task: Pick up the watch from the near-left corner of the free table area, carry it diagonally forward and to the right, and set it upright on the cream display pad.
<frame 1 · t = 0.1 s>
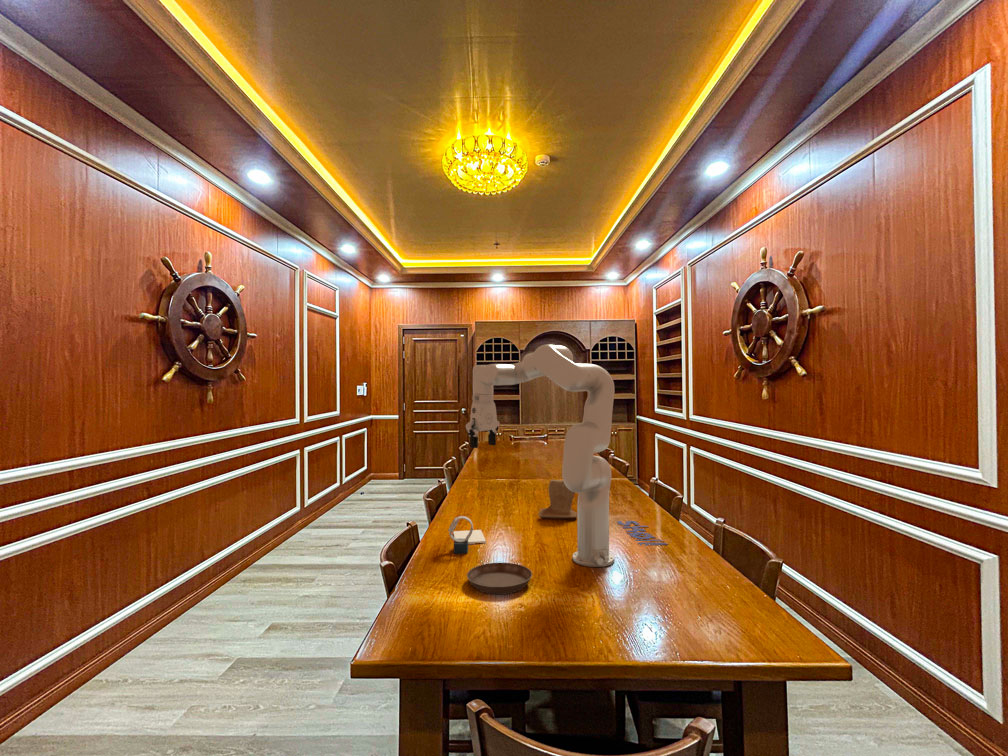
hand: (483, 446, 183), 31 cm above the table, tool pointing down, fingers open, 9 cm apart
brown boot: (557, 517, 203), on the table
watch: (460, 551, 163), on the table
signage: (639, 533, 182), on the table
plant saucer: (499, 585, 137), on the table
display pad: (469, 538, 176), on the table
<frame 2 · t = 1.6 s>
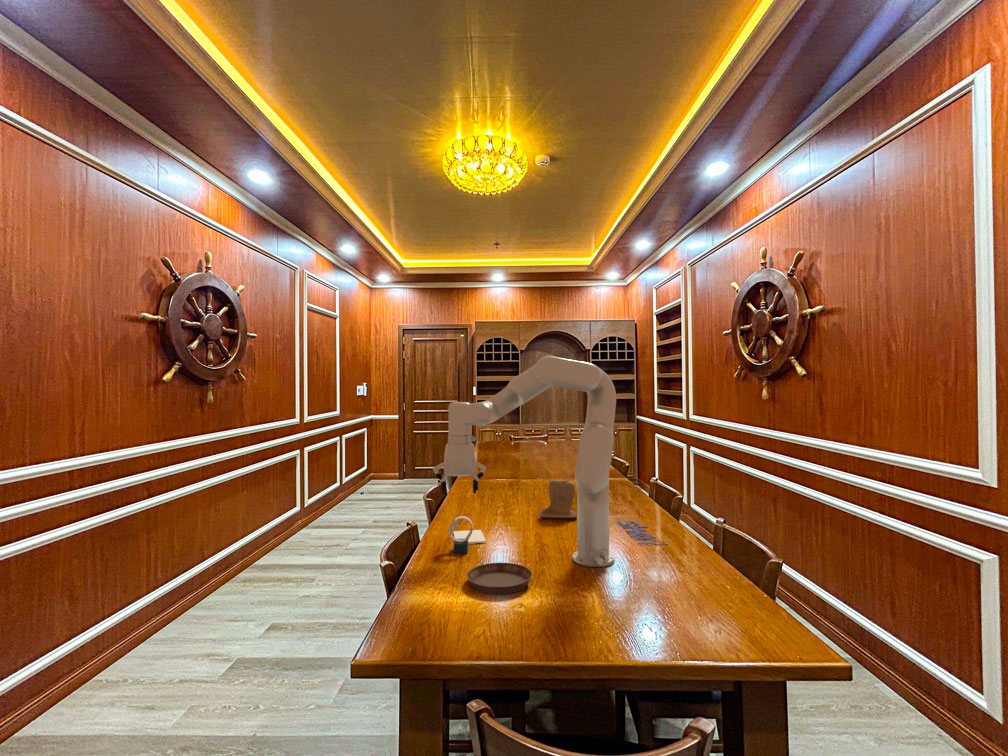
hand: (459, 493, 163), 19 cm above the table, tool pointing down, fingers open, 9 cm apart
nothing on the table moved.
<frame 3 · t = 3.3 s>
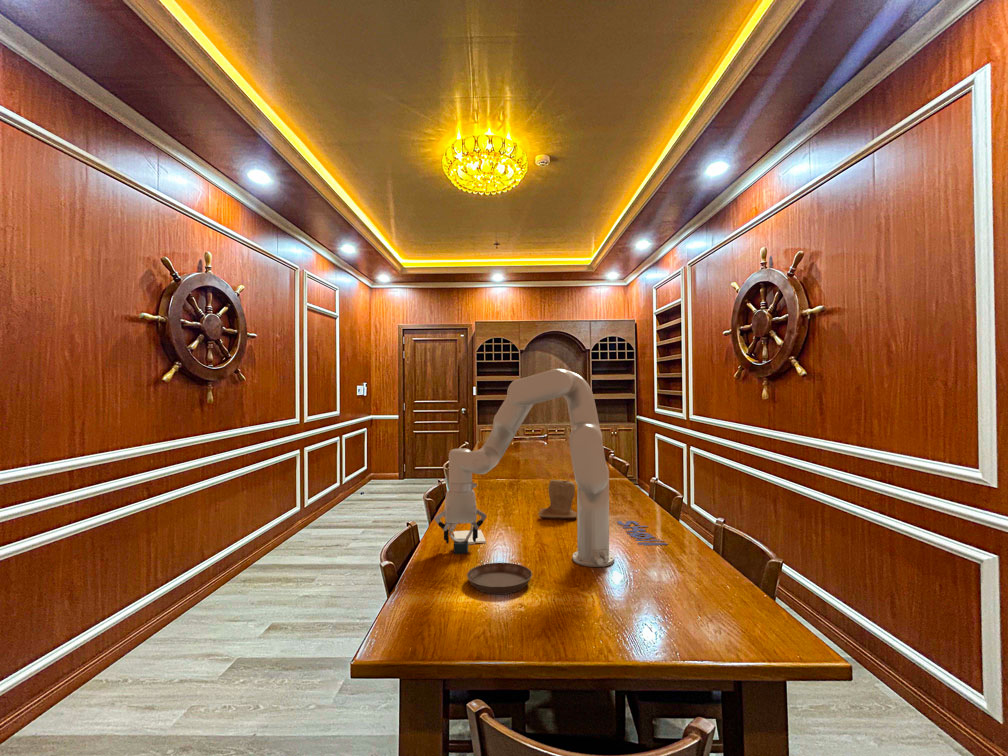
hand: (460, 541, 163), 3 cm above the table, tool pointing down, fingers closed on watch, 8 cm apart
watch: (460, 551, 163), on the table, touching gripper
everything else where it was.
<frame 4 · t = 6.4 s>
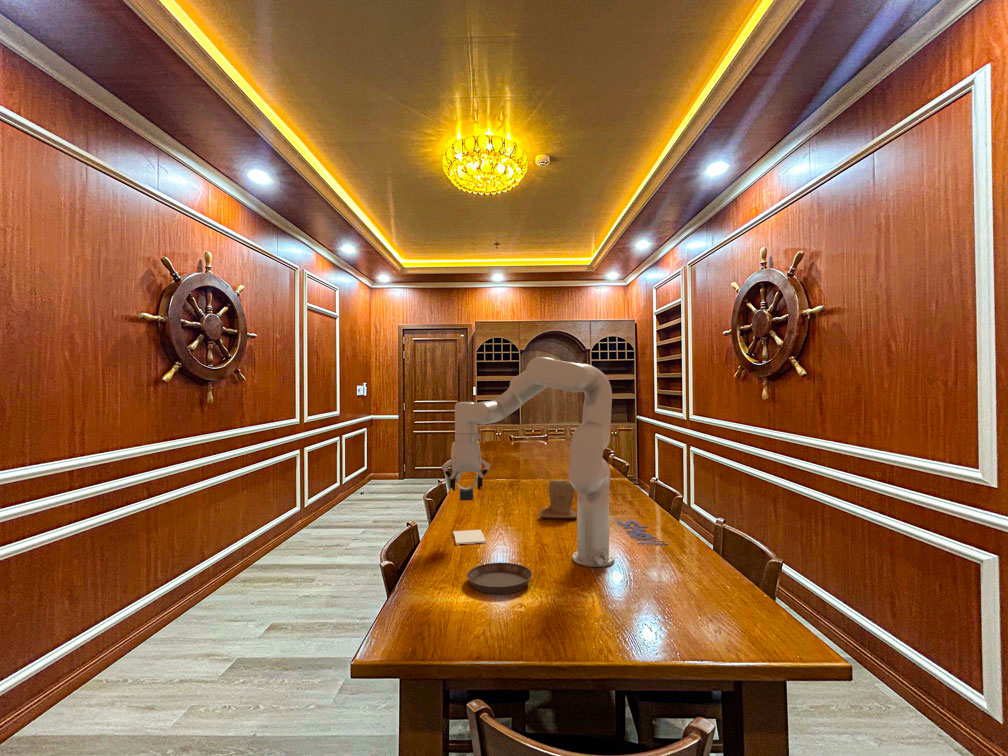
hand: (466, 489, 172), 18 cm above the table, tool pointing down, fingers closed on watch, 8 cm apart
watch: (466, 499, 172), point 15 cm above the table, touching gripper
everything else where it was.
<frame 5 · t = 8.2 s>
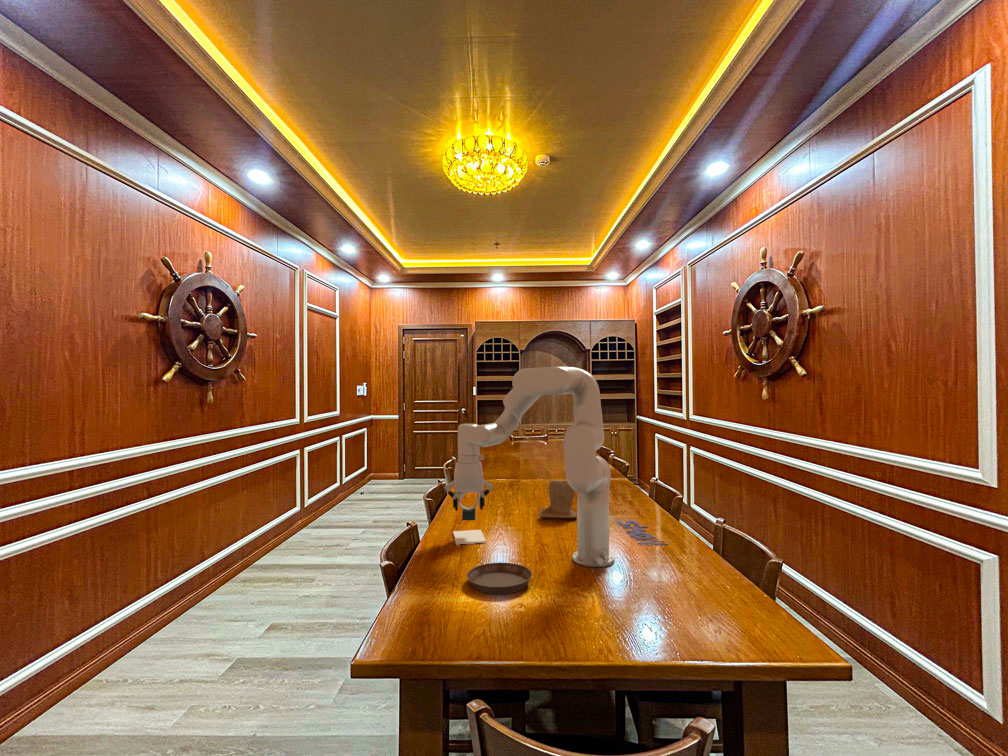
hand: (468, 509, 176), 10 cm above the table, tool pointing down, fingers closed on watch, 8 cm apart
watch: (468, 518, 176), point 7 cm above the table, touching gripper
everything else where it was.
when the fingers open (5 cm above the table, at t = 9.8 s): watch stays where it is, resting on display pad.
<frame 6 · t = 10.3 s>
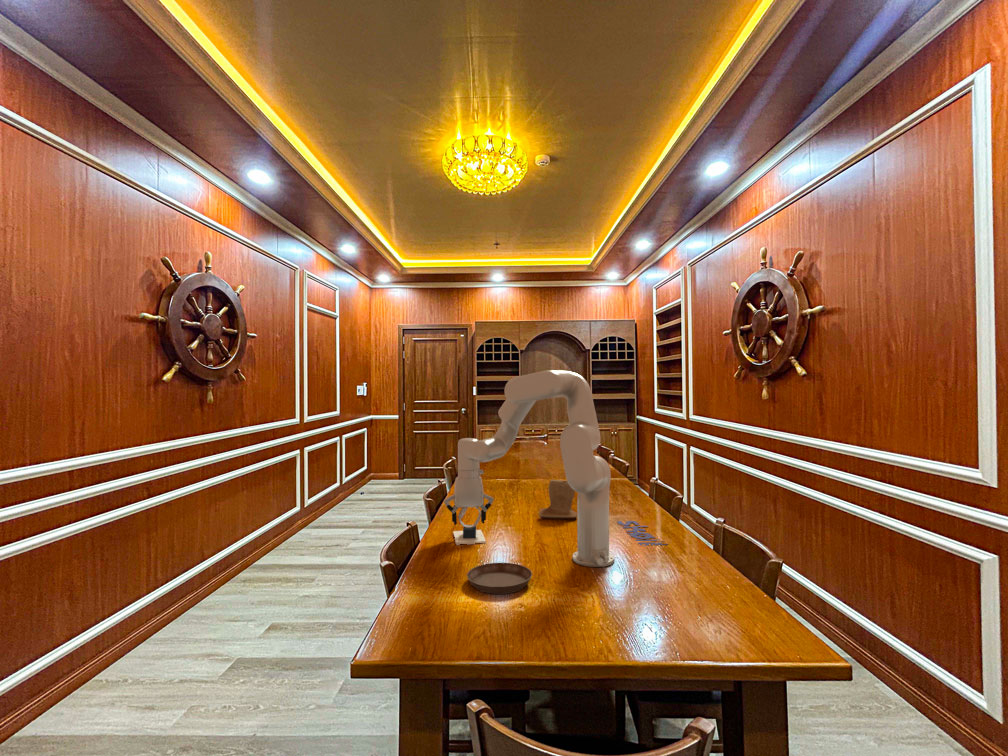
hand: (469, 523, 176), 5 cm above the table, tool pointing down, fingers open, 9 cm apart
watch: (469, 536, 176), point 1 cm above the table, touching display pad
everything else where it was.
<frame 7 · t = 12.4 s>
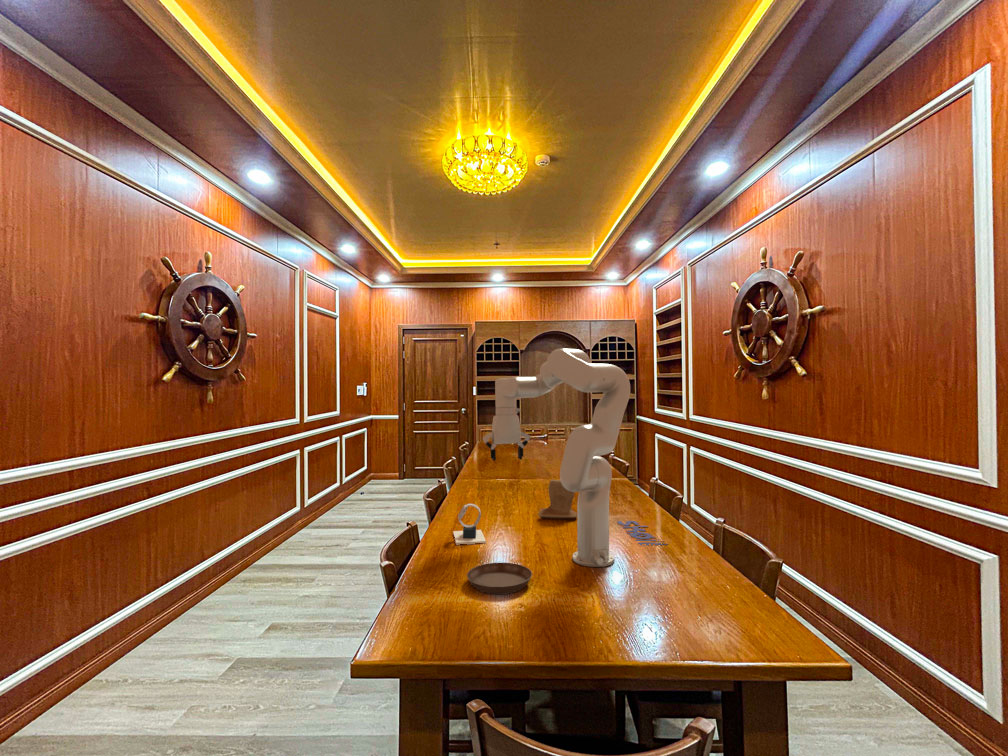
hand: (507, 459, 182), 26 cm above the table, tool pointing down, fingers open, 9 cm apart
nothing on the table moved.
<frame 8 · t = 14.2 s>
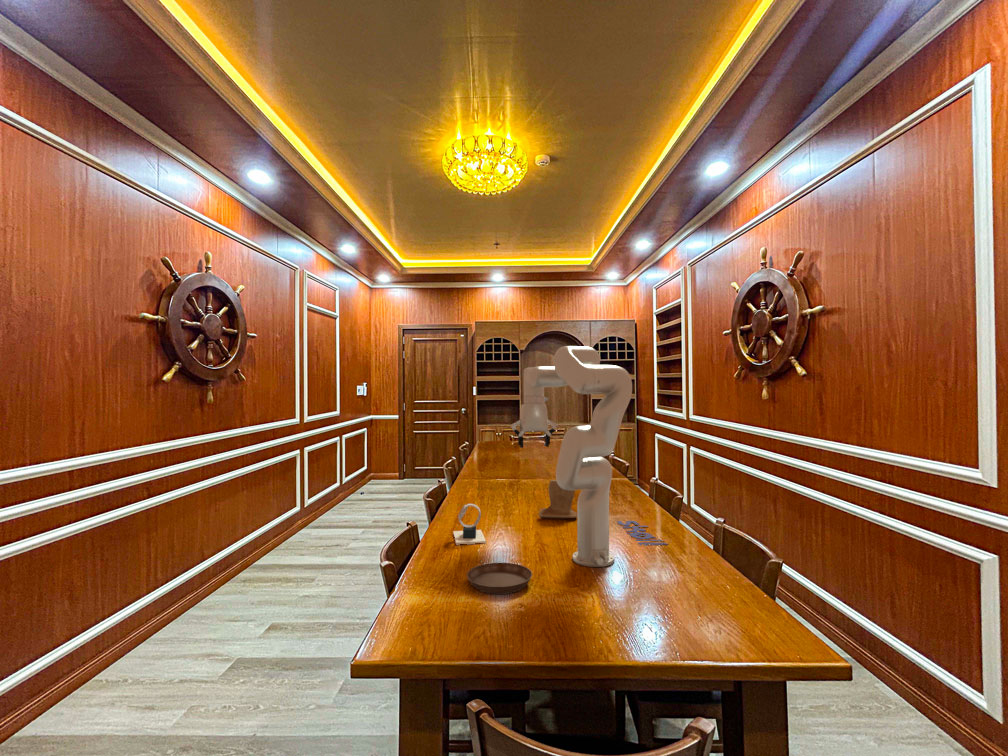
hand: (534, 446, 187), 30 cm above the table, tool pointing down, fingers open, 9 cm apart
nothing on the table moved.
at the end: watch inside the target area on the display pad (0.1 cm from its centre), point 0.6 cm above the display pad's base; watch tilted 0°; the gripper is holding nothing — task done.
